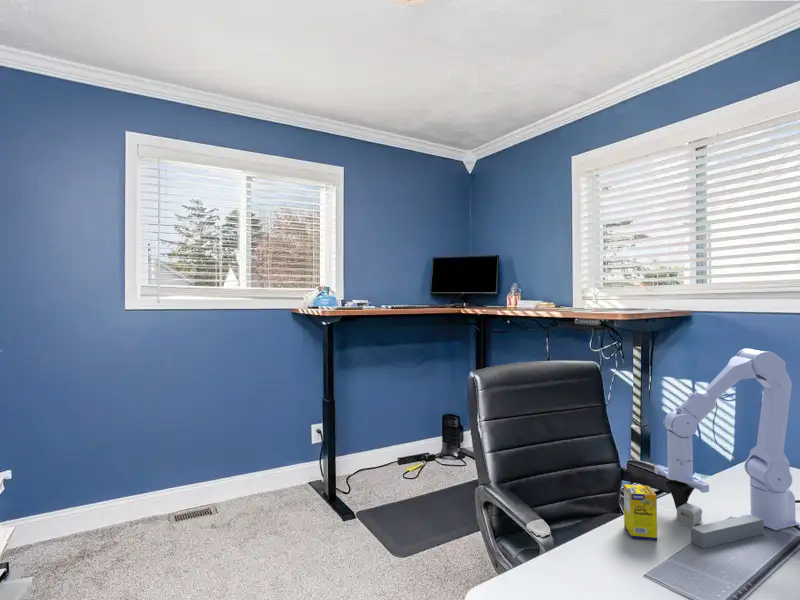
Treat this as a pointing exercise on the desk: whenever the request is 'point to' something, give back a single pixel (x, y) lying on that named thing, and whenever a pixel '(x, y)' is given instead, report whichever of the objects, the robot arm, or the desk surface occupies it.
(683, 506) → the usb wall charger
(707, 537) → the slate rail
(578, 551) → the desk surface
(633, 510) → the supplement box
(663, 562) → the desk surface
